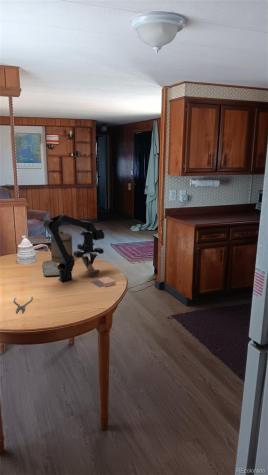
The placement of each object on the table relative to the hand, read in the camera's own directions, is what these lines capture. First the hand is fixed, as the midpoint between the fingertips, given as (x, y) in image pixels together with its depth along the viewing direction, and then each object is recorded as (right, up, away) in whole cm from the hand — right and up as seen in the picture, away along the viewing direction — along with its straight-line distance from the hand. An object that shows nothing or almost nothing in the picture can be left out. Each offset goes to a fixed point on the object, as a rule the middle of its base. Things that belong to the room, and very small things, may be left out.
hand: (89, 265), depth 218 cm
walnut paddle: (-1, -1, +2) cm, 2 cm away
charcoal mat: (+10, -9, -14) cm, 19 cm away
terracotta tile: (+9, -7, -12) cm, 17 cm away
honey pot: (-48, +1, +28) cm, 55 cm away
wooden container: (-23, +1, +31) cm, 39 cm away
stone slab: (-26, -4, +10) cm, 29 cm away
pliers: (-27, -17, -43) cm, 53 cm away
